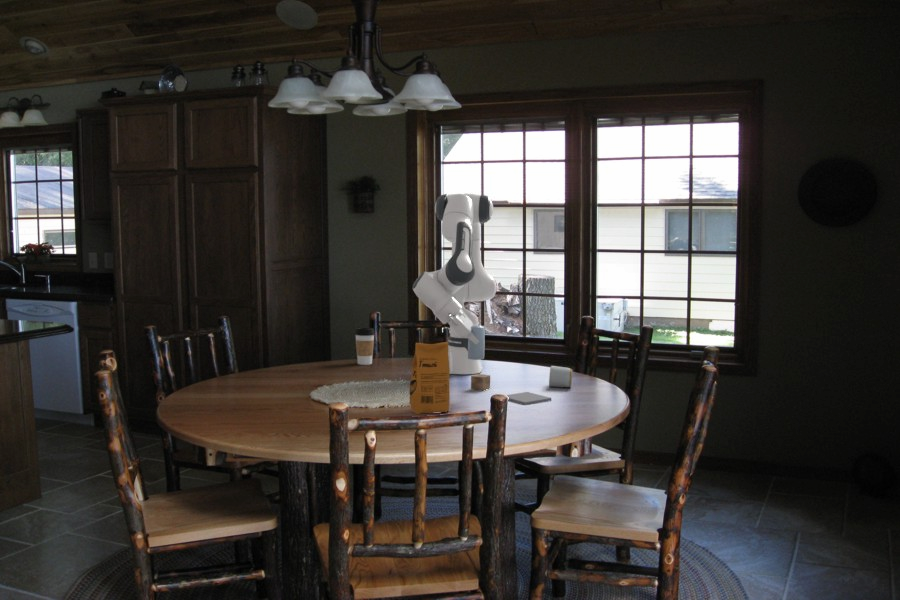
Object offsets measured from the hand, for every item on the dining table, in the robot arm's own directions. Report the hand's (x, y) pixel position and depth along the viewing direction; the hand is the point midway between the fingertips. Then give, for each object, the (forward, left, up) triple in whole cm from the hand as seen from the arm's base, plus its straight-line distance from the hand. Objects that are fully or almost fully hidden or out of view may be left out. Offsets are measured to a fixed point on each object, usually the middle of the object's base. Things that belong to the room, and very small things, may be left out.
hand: (478, 341), depth 288 cm
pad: (+12, +11, -19) cm, 26 cm away
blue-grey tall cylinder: (0, 0, -6) cm, 6 cm away
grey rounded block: (+3, +37, -20) cm, 42 cm away
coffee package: (+7, -26, -19) cm, 33 cm away
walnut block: (-10, +9, -19) cm, 24 cm away
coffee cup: (-77, +2, -19) cm, 80 cm away
